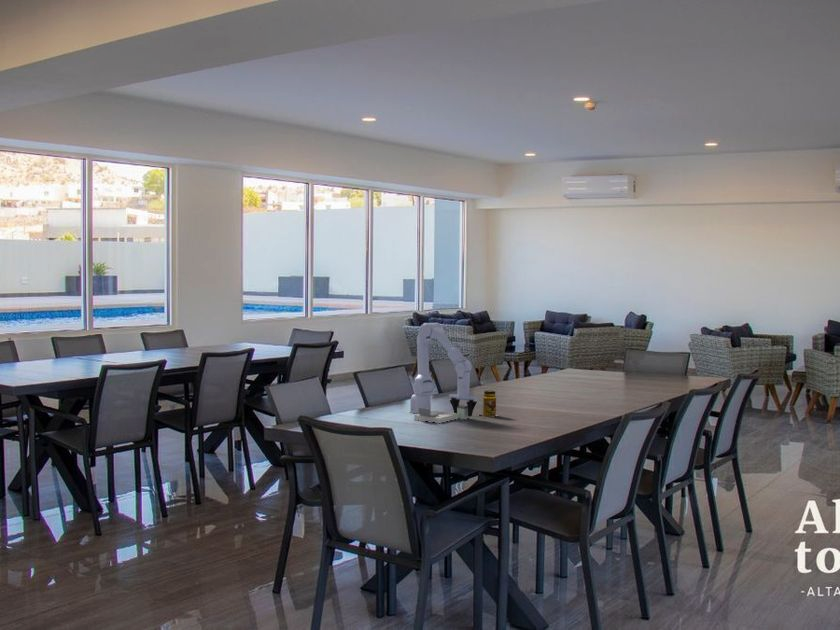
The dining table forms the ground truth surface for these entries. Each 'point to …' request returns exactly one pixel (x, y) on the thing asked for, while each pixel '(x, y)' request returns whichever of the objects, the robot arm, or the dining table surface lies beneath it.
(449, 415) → the socket
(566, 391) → the dining table surface
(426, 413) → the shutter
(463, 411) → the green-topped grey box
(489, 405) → the yellow metal cylinder
